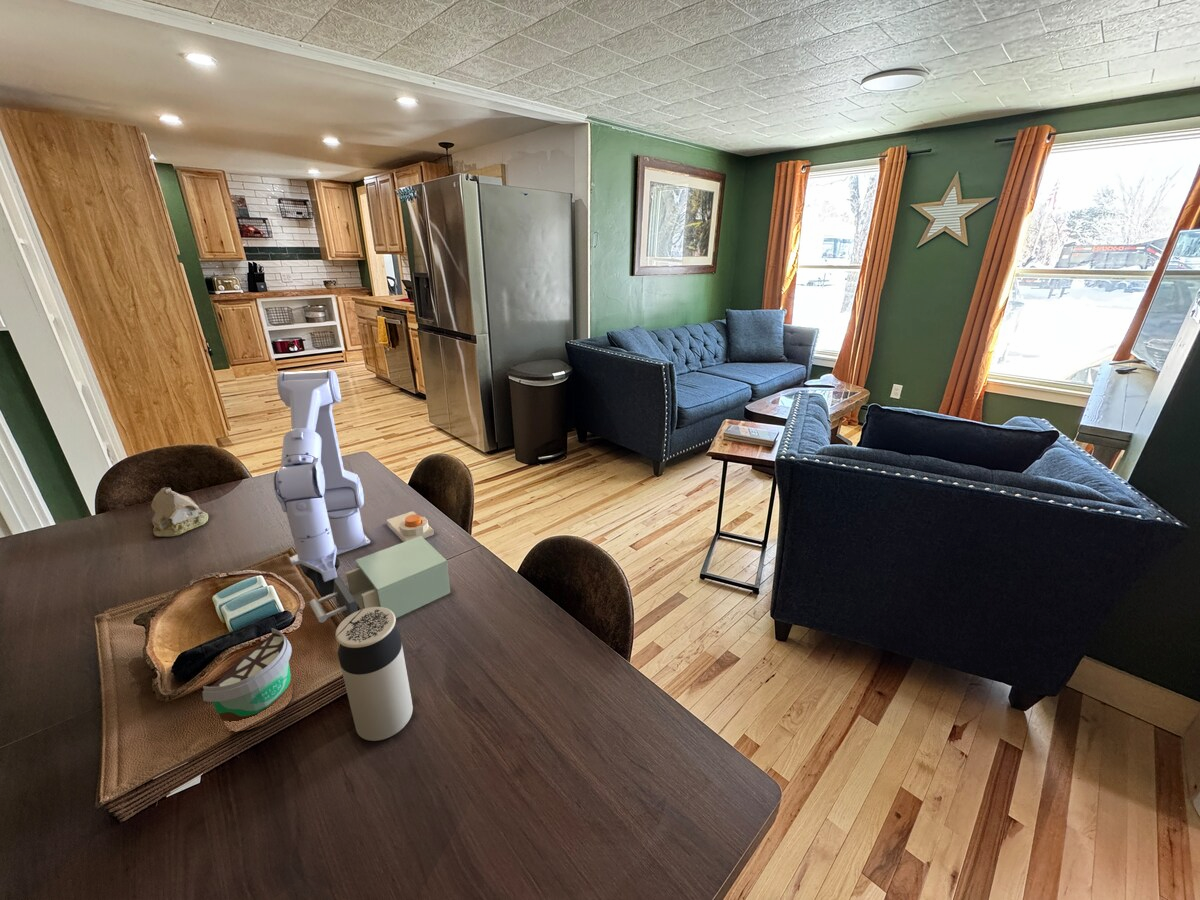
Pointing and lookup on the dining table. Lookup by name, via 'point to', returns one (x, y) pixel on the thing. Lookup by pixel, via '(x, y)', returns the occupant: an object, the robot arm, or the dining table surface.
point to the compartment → (348, 596)
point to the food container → (253, 680)
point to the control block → (409, 533)
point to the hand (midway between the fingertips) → (326, 593)
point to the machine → (406, 575)
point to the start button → (413, 520)
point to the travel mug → (374, 672)
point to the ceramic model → (175, 513)
